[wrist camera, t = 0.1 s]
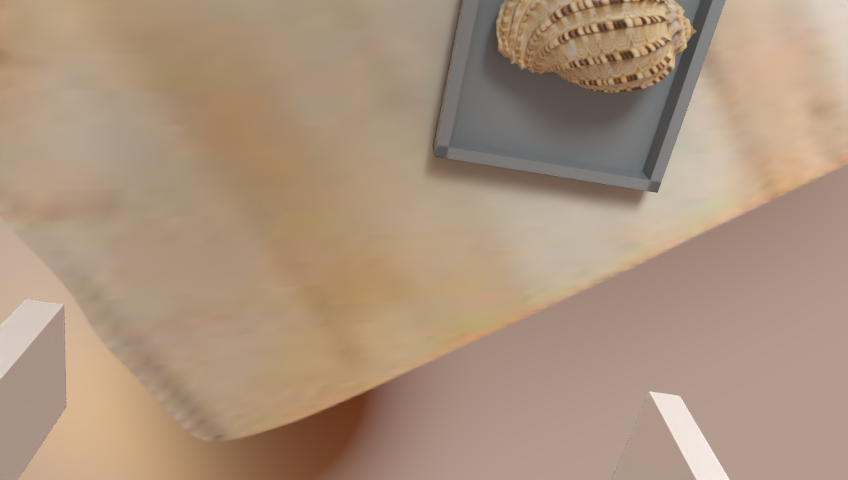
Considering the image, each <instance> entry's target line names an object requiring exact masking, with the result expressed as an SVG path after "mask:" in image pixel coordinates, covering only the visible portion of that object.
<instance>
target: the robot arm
mask: <svg viewBox="0 0 848 480" xmlns="http://www.w3.org/2000/svg"><path fill="white" fill-rule="evenodd" d="M64 325H65V323H64V305H63V304H58V303H51V302H44V301H37V300H31V299H25V300H24V301H23V302H22V303H21V304H20V305H19V306H18V308H17V309H16V310H15V311H14V312H13V313H12V314H11V315H10V316H9V317H8V318H7V319H6V320H5V321H4V322H3V323H2V324H1V325H0V480H18V479H19V477H20V476H21V474H22V473H23V471H24V470H25V468H26V467H27V465H28V464H29V462H30V461H31V459H32V458H33V456H34V454H35V453H36V452H37V450H38V449H39V447H40V446H41V444H42V443H43V441H44V439H45V438H46V437H47V435H48V434H49V432H50V431H51V429H52V428H53V426H54V425H55V423H56V422H57V420H58V419H59V417H60V416H61V414H62V413H63V411H64V410H65V408H66V372H65V371H66V370H65V326H64ZM612 480H729V478H728V477H727V475H726V473H725V472H724V470H723V468H722V466H721V465H720V463H719V461H718V460H717V458H716V456H715V455H714V453H713V451H712V450H711V448H710V446H709V445H708V443H707V441H706V440H705V438H704V436H703V434H702V433H701V431H700V429H699V428H698V426H697V425H696V423H695V421H694V419H693V418H692V416H691V414H690V412H689V411H688V409H687V407H686V406H685V404H684V402H683V401H682V399H681V397H680V396H677V395H670V394H663V393H656V392H649V393H648V395H647V398H646V400H645V402H644V405H643V407H642V410H641V412H640V414H639V416H638V419H637V421H636V423H635V426H634V428H633V430H632V433H631V435H630V437H629V440H628V442H627V444H626V447H625V449H624V451H623V454H622V456H621V458H620V461H619V463H618V466H617V468H616V470H615V472H614V474H613V477H612Z"/></svg>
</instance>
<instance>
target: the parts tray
mask: <svg viewBox="0 0 848 480" xmlns="http://www.w3.org/2000/svg"><path fill="white" fill-rule="evenodd" d="M504 1H505V0H462V3H461V8H460V13H459V18H458V23H457V28H456V33H455V39H454V44H453V49H452V54H451V59H450V64H449V69H448V74H447V79H446V84H445V90H444V95H443V100H442V105H441V110H440V115H439V120H438V125H437V130H436V135H435V141H434V146H433V149H434V155H435V157H441V158H447V159H453V160H459V161H465V162H472V163H478V164H484V165H490V166H496V167H502V168H509V169H515V170H521V171H527V172H533V173H539V174H545V175H552V176H558V177H564V178H570V179H576V180H582V181H588V182H595V183H601V184H607V185H613V186H619V187H625V188H632V189H638V190H644V191H650V192H656V193H658V190H659V187H660V184H661V181H662V178H663V176H664V173H665V170H666V167H667V164H668V161H669V159H670V156H671V153H672V150H673V147H674V144H675V142H676V139H677V136H678V133H679V130H680V127H681V125H682V122H683V119H684V116H685V113H686V110H687V108H688V105H689V102H690V99H691V96H692V93H693V91H694V88H695V85H696V82H697V79H698V77H699V74H700V71H701V68H702V65H703V62H704V60H705V57H706V54H707V51H708V48H709V45H710V43H711V40H712V37H713V34H714V31H715V28H716V26H717V23H718V20H719V17H720V14H721V11H722V9H723V6H724V3H725V0H674V1H675V2H676V3H677V4H679V5H680V6H681V7H682V9H683V10H685V11H684V14H683V16H684V17H686V18H688V19H689V21H690V25H692V27H693V29H695V30H696V31H697V32H696V33H695V34H694V35H692V36H691V38H690V40H689V41H688V42H687V48H686V49H684V50H683V51H682V52H681V53H680V54H679V55H678V56H676V58H675V68H674V69H673V70H672V71H671V72H670V73H669V74H668V75H667V76H666V77H665V78H664V79H662V80H661V81H660V82H658V83H656V84H654V85H652V86H649V87H647V88H644V89H638V90H634V91H627V92H616V93H611V92H597V91H592V90H589V89H586V88H584V87H581V86H579V85H578V84H575V83H572V82H569V81H566V80H564V79H563V78H561V77H560V76H559V74H557V73H555V72H551V73H546V72H544V73H542V74H541V75H540V74H538V73H537V72H534V73H531V72H530V71H529V70H528V69H527V68H524V69H522V70H521V69H520V68H519V66H518V64H516V63H514V64H510V59H509V58H508V57H504V56H503V55H502V53H500V52H499V51H497V33H496V20H497V17H498V14H499V11H500V5H502V3H503V2H504Z"/></svg>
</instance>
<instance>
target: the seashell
mask: <svg viewBox="0 0 848 480" xmlns="http://www.w3.org/2000/svg"><path fill="white" fill-rule="evenodd" d="M684 11H685V10H683V9H682V7H681V6H680V5H679V4H677V3H676V2H675V1H674V0H505V1H504V2H503V3H502V5H500V11H499V14H498V17H497V20H496V33H497V51H499V52H500V53H502V55H503V56H504V57H508V58H509V59H510V64H514V63H516V64H518V66H519V68H520V69H521V70H522V69H524V68H527V69H528V70H529V71H530V72H531V73H534V72H537V73H538V74H540V75H541V74H542V73H544V72H546V73H551V72H555V73H557V74H559V76H560V77H561V78H563V79H564V80H566V81H569V82H572V83H575V84H578V85H579V86H581V87H584V88H586V89H589V90H592V91H597V92H611V93H616V92H627V91H634V90H638V89H644V88H647V87H649V86H652V85H654V84H656V83H658V82H660V81H661V80H662V79H664V78H665V77H666V76H667V75H668V74H669V73H670V72H671V71H672V70H673V69H674V68H675V58H676V56H678V55H679V54H680V53H681V52H682V51H683V50H684V49H686V48H687V42H688V41H689V40H690V38H691V36H692V35H694V34H695V33H696V32H697V31H696V30H695V29H693V27H692V25H690V21H689V19H688V18H686V17H684V16H683V14H684Z"/></svg>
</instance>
